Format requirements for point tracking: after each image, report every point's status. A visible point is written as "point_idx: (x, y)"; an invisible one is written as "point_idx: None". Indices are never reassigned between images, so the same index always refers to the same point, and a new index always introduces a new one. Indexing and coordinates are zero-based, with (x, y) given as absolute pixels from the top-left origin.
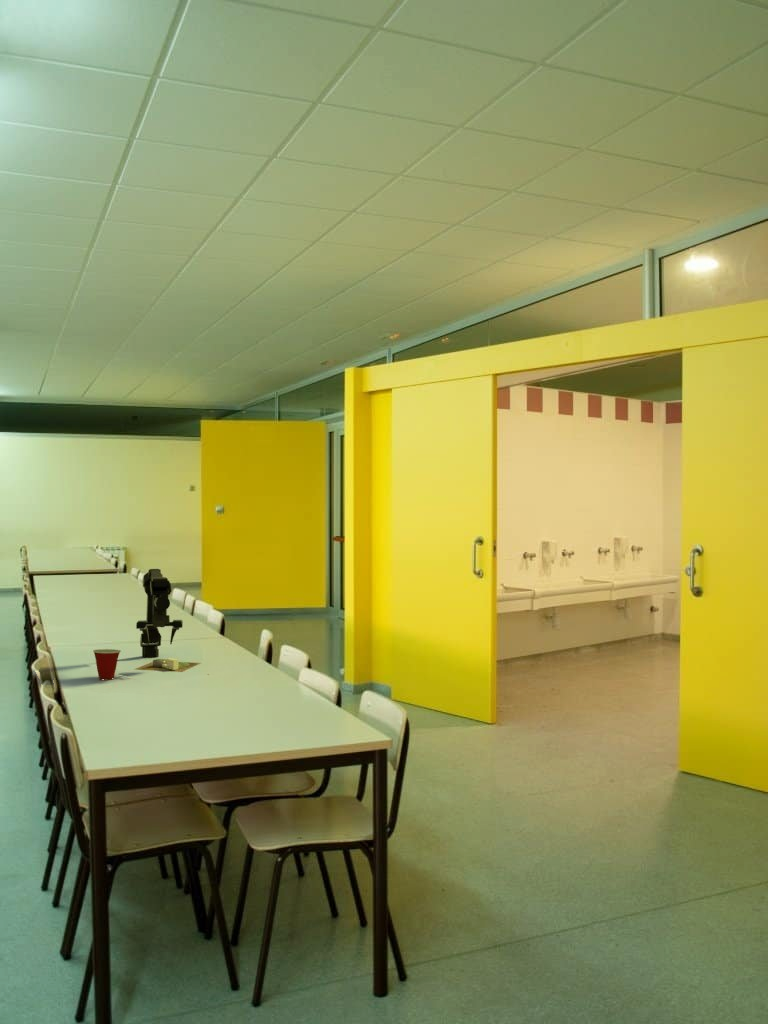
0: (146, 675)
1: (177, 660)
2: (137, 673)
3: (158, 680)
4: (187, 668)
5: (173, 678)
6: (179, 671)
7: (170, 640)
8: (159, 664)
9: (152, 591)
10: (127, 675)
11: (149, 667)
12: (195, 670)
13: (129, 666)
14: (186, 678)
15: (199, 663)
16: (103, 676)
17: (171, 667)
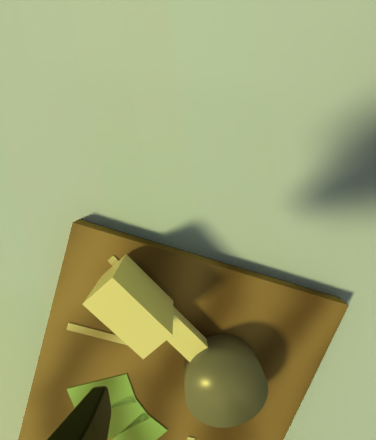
0: (269, 212)
1: (89, 296)
2: (319, 265)
3: (185, 64)
4: (61, 313)
5: (107, 117)
6: (89, 233)
7: (82, 431)
8: (221, 345)
9: None
10: (366, 218)
11: (271, 345)
12: (29, 325)
13: (365, 419)
14: (28, 111)
15: (26, 433)
16: None
17: (139, 274)
